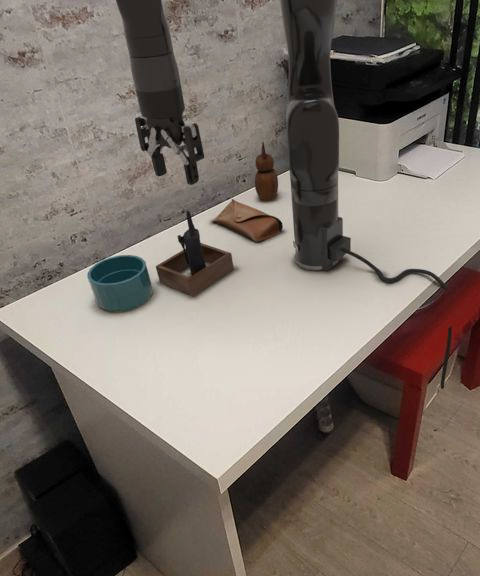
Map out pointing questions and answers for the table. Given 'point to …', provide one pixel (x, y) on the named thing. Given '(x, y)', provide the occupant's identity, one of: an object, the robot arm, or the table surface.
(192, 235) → the two-way radio
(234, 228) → the sunglasses case
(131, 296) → the teal round bowl
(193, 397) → the table surface
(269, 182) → the wooden figurine
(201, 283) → the wooden frame
